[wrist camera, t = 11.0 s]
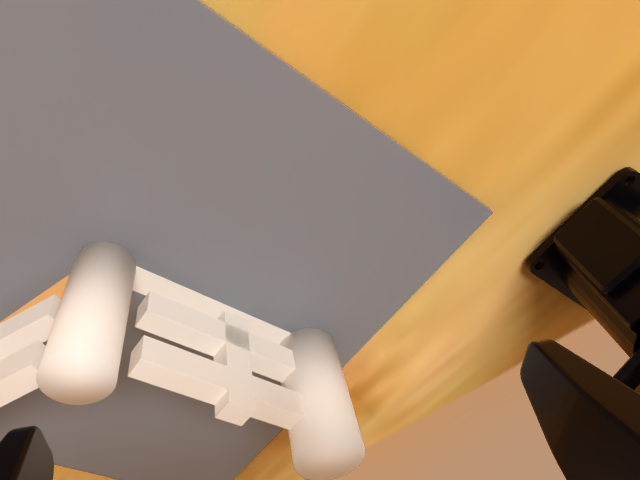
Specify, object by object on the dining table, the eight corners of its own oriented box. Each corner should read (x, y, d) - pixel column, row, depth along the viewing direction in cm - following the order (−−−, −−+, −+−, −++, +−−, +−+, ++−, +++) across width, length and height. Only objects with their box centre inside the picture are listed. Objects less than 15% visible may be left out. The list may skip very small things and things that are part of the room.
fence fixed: (346, 341, 27) (379, 446, 22) (311, 378, 28) (335, 486, 23) (94, 226, 21) (59, 336, 16) (61, 279, 22) (19, 397, 17)
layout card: (490, 209, 25) (493, 212, 24) (212, 496, 33) (212, 502, 33) (-207, -291, 13) (-217, -295, 12) (-364, 358, 21) (-371, 365, 21)
